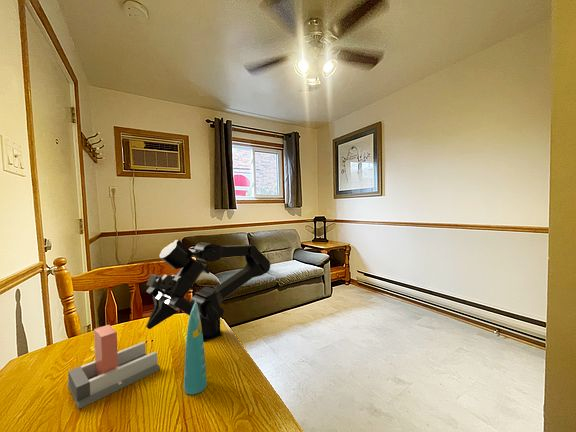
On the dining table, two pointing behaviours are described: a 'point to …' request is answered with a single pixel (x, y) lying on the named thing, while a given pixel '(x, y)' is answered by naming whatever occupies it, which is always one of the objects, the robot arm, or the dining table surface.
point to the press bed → (111, 375)
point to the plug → (105, 349)
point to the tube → (194, 355)
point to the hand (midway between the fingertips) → (147, 328)
